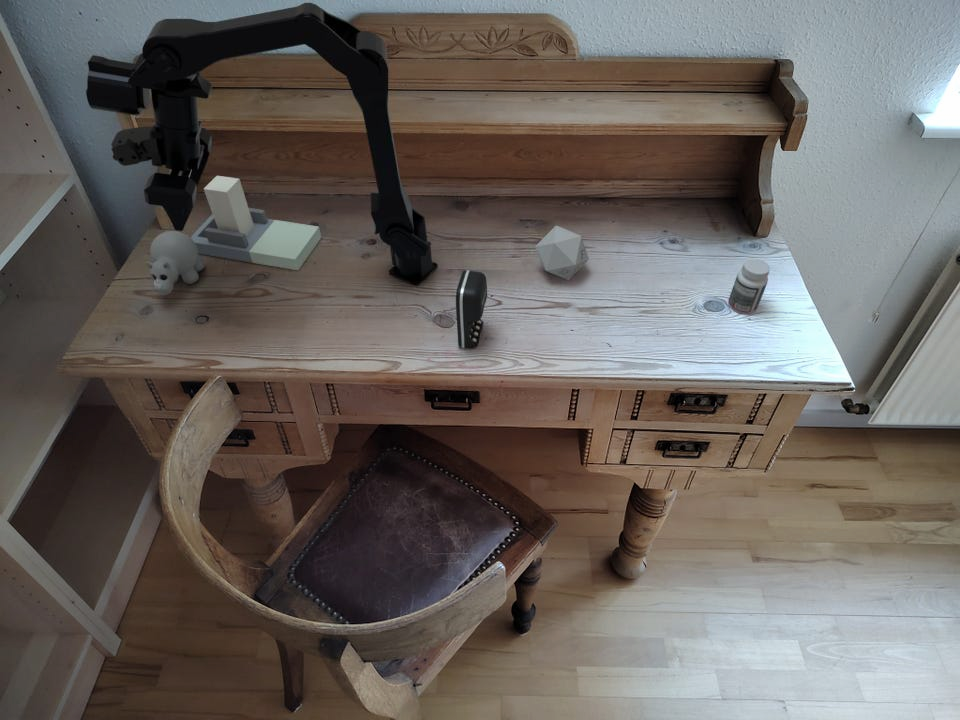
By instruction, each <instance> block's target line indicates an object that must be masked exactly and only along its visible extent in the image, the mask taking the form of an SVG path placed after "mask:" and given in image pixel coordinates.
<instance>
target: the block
mask: <svg viewBox="0 0 960 720" xmlns="http://www.w3.org/2000/svg"><path fill="white" fill-rule="evenodd" d="M203 191H204V194H205V197H206V200H207V202H208V205H209V208H210V210H211V215H212V214H213V216H214V219H215V222H216V225H217V227H218V229H220V230H227V231H233V232H239V233H245V235H247V234H248V233H249V232H250V231H251V230H252V228H253V227H254V224H253V221H252V218H251V214H250V211H249V208H250V207H249V206H248V202H247V199H246V195H245V193H244V189H243V186H242V182H241V179H240V178H236V177H231V176H221V175H216V176H215V177H214V178H213V179H212V180H211V181H210V182H209V183H208V184H207V185H206V186H205V187H204V188H203Z"/></svg>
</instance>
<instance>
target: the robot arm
mask: <svg viewBox="0 0 960 720" xmlns="http://www.w3.org/2000/svg"><path fill="white" fill-rule="evenodd" d="M303 45H305V46H307V47H308V48H311V49H312V50H313V51H314V52H315V53H317V54H318V55H319V56H320V57H321V58H322V59H324V60H325V62H327V64H329V65H330V66H331V67H332V68H333V69H335V70H336V72H339V73H340V74H342V75H344V76H345V77H346V79H347V82H348V84H349V86H350V90H351V92H352V94H353V97H354V99H355V101H356V103H357V105H358V107H359V108H360V110H361V112H362V117H363V121H364V125H365V131H366V136H367V142H368V146H369V150H370V151H369V152H370V156H371V162H372V166H373V172H374V177H375V181H376V187H377V191H378V192H370V194H369V195H370V197H369V198H370V214H371V218H372V220H373V223H374V235H375V236H376V235H378V234H379V235H378V236H379V238H380V241H382V243H384V244H386V245H388V246H389V247H390V255H391V263H392V267H391V268H390V269H389V270H388V274H389V275H390V276H393V277H395V278H397V279H400V280H402V281H403V282H406V283H409V284H411V285H413V286H419V285H420V284H422V282H424V281H425V280H426V279H427V278H428V277H429V276H430V275H431V274H432V273H433V272H434V271H435V270H437V269H438V268H439V264H438V263H436V262H434V261H432V259H433V258H432V248H431V245H432V244H431V242H429V241H428V240H429V239H428V232H427V231H428V230H427V224H426V223H427V222H426V217H425V216H424V215H422V214H421V213H420V212H418V211H417V210H415V208H413V207H412V204H411V201H410V198H409V196H408V192H407V191H406V189H405V187H404V186H403V184H402V181H401V178H400V176H401V174H400V169H399V164H398V158H397V152H396V147H395V141H394V136H393V128H392V123H391V117H390V111H389V106H388V103H389V62H388V59H389V58H388V48H387V46H386V43H385V41H384V39H383V38H381V37H380V36H379V35H378V34H376V33H374V32H371V31H366V30H365V31H363V30H361V29H360V28H358V27H357V26H356V25H354V24H353V23H351V22H349V21H347V20H345V19H343V18H340V17H338V16H336V15H333V14H332V13H329V12H327V11H326V10H325V9H323V8H321V7H320V6H318V5H317V3H316V4H315V3H313V2H303V3H301V4H299V5H297V6H293V7H288V8H281V9H277V10H271V11H267V12H260V13H255V14H250V15H245V16H241V17H240V16H239V17H235V18H234V17H233V18H230V19H224V20H219V21H204V20H199V19H194V18H164V19H161V20H159V21H157V22H156V23H155V24H154V26H153V27H152V28H151V31H150V32H149V34H148V36H147V38H146V40H145V41H144V43H143V45H142V46H143V47H142V49H141V50H142V53H140V54H139V56H138V58H137V60H136V62H135V63H133V62H127V61H121V60H115V59H110V58H107V57H105V56H100V55H95V54H92V55H91V57H90V58H89V59H88V60H87V66H88V71H87V79H86V81H87V83H86V84H87V85H86V86H87V87H86V90H85V94H86V99H87V102H88V105H89V107H90V108H91V109H92V110H97V111H104V112H111V113H116V114H117V113H118V114H122V115H123V114H124V115H130V116H137V117H138V116H140V114H141V112H142V110H148V109H149V107H150V103H152V104H151V105H152V112H153V123H154V125H150V126H148V125H145V126H144V125H143V126H139V127H132V128H126V129H122V130H121V129H120V131H119V130H118V131H117V132H116V134H115V136H114V138H113V140H112V142H111V151H112V154H113V155H112V158H113V160H114V161H117V162H118V163H119V165H122V166H124V167H127V166H133V165H137V164H140V163H143V162H148V161H149V162H150V161H151V165H152V166H153V167H163V166H165V169H169V170H171V171H170V174H168V173H164V172H163V173H162V172H154V173H153V174H151V175H150V176H149V177H148V179H147V182H146V184H145V186H144V189H143V194H144V202H145V203H147V204H148V205H151V206H158V207H159V206H160V207H162V208H163V211H164V212H165V213H166V215H167V217H168V218H169V219H168V220H169V221H170V223H171V225H172V227H173V228H174V231H178V232H183V231H184V228H185V227H186V224H187V222H188V219H189V218H190V216H191V212H192V211H193V208H194V206H195V204H196V201H197V198H198V196H197V193H198V192H197V188H198V185H199V184H200V181H201V178H202V175H203V173H204V170H205V168H206V166H207V163H208V161H209V158H210V154H211V148H212V144H213V142H212V141H213V140H212V134H211V133H210V132H209V131H208V130H207V128H205V127H203V126H202V120H200V121H199V108H198V106H199V105H198V98H199V99H204V100H205V99H208V98H209V96H210V94H211V90H212V88H213V84H212V83H211V82H210V81H209V80H208V79H206V78H204V76H202V74H201V72H203V71H204V70H206V69H208V68H209V67H211V66H212V65H214V64H216V63H219V62H221V61H223V60H228V59H229V60H230V59H235V58H240V57H247V56H251V55H256V54H261V53H265V52H267V53H268V52H271V51H277V50H283V49H286V48H292V47H293V48H294V47H298V46H303ZM150 99H151V101H150Z"/></svg>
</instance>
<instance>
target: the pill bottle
mask: <svg viewBox="0 0 960 720" xmlns="http://www.w3.org/2000/svg"><path fill="white" fill-rule="evenodd" d="M770 271H771V267H770V265H769V263H767V261H764V260H763V259H759V258H752V257H751V258H748V259H746V260H744V262H743V264H742V267H741V268H740V270H739V271H738V272H737V275H736V278H735V280H734V284H733V286H732V288H731V292H730V295H729V297H728V301H727V302H728V305H729V308H731V309H732V310H733V311H734V312H736V313H739V314H743V315H747V314H752V313H754V312H755V313H756V311H757V309H758V307H759V304H761V303H760V302H761V300H762V298H763V295H764V292H765V289H766V287H767V286H768V281H769V279H768V276H769V273H770Z"/></svg>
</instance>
